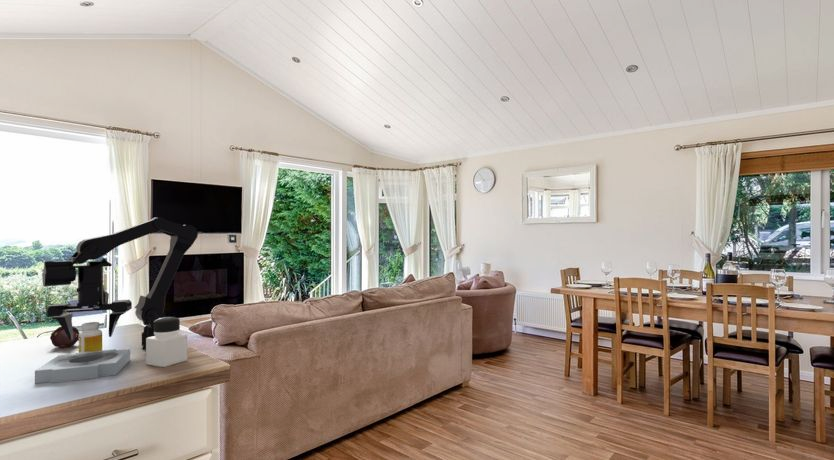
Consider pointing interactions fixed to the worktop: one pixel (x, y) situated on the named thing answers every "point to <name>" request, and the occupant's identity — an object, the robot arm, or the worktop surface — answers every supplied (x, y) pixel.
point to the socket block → (82, 366)
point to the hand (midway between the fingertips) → (91, 338)
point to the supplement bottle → (90, 337)
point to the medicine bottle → (166, 343)
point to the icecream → (64, 338)
